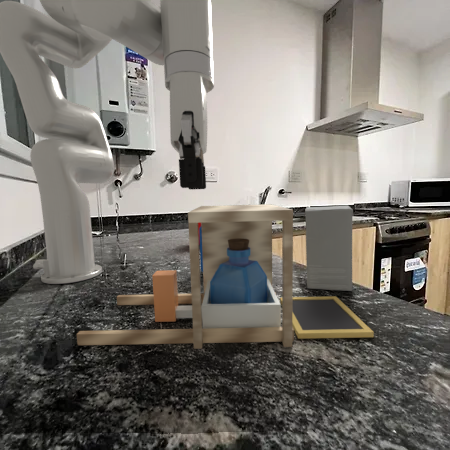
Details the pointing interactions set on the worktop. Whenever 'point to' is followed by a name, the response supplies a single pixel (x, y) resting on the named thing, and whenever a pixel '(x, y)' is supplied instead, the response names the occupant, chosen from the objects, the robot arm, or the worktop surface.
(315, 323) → the yellow framed grey pad
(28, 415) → the worktop surface
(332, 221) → the skincare box
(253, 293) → the perfume bottle
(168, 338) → the track
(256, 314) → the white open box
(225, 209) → the tunnel
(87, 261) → the robot arm
